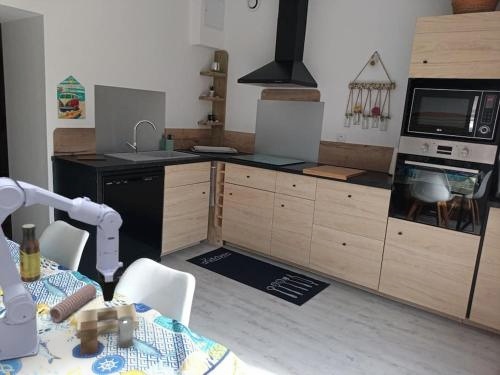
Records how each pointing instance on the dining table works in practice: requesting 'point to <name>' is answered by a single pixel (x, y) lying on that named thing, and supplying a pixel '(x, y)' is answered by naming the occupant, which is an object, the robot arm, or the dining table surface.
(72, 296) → the coil
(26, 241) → the sauce bottle
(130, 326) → the clear glass
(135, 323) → the socket board
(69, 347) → the dining table surface
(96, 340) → the square peg
